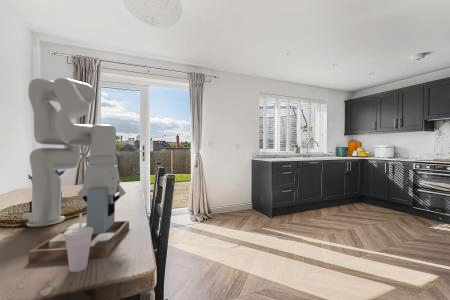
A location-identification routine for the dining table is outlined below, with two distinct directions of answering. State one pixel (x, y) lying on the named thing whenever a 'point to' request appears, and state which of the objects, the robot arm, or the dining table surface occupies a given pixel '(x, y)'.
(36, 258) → the walnut tray
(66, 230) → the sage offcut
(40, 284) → the dining table surface
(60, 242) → the birch offcut
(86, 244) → the smoothie
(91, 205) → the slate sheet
